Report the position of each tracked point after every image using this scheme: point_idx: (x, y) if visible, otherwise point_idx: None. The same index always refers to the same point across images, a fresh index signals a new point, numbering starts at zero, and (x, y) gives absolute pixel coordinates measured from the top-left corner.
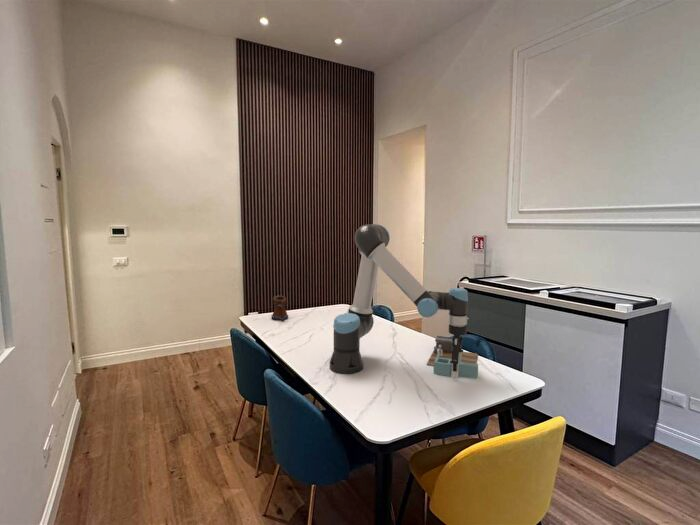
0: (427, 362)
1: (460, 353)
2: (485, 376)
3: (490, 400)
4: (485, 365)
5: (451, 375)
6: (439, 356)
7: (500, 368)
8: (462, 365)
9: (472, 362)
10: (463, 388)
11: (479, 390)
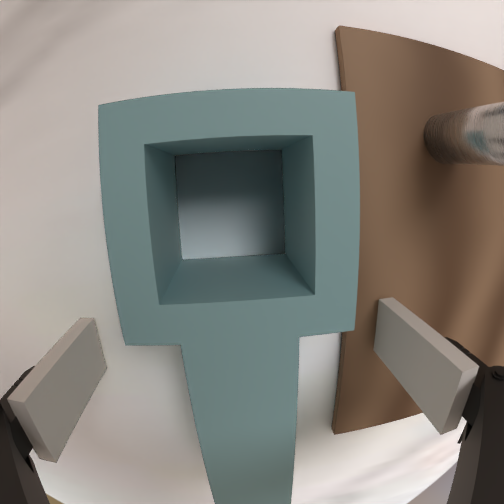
0: (376, 32)
1: (441, 422)
2: None
3: None
4: (450, 431)
5: (72, 327)
6: (463, 134)
7: (416, 482)
8: (202, 446)
9: None
10: None
11: None
